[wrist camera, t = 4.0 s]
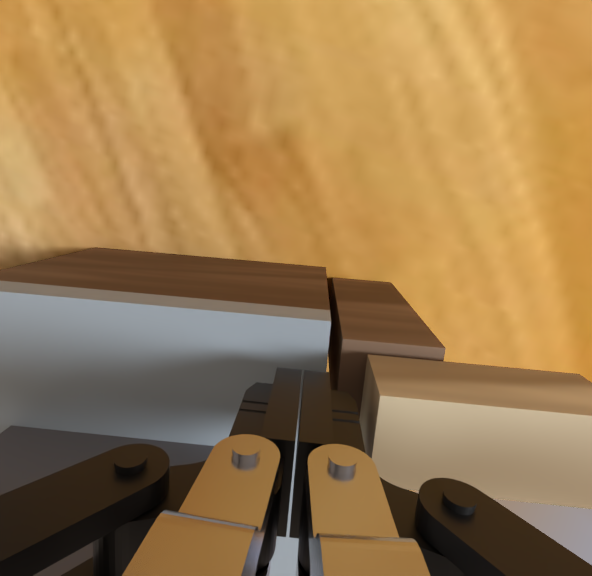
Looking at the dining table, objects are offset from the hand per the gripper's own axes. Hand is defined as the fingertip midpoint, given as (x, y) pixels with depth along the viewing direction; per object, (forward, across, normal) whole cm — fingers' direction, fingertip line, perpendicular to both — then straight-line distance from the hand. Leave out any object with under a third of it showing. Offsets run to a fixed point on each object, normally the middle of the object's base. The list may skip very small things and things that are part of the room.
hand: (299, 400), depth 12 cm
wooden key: (+1, -5, 0) cm, 5 cm away
